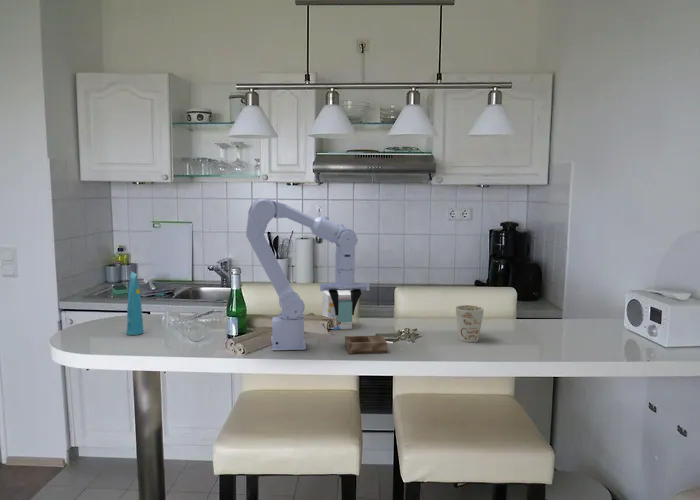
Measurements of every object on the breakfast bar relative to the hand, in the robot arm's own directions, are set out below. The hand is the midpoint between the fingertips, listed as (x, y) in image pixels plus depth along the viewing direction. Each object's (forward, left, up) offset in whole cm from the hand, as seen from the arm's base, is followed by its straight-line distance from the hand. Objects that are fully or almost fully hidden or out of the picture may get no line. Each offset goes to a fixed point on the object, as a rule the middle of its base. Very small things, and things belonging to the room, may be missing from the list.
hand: (344, 314), depth 155 cm
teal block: (0, 0, -2) cm, 2 cm away
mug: (+40, +3, -9) cm, 41 cm away
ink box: (0, +21, -9) cm, 23 cm away
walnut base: (+5, -6, -9) cm, 12 cm away
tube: (-64, +18, -9) cm, 67 cm away
